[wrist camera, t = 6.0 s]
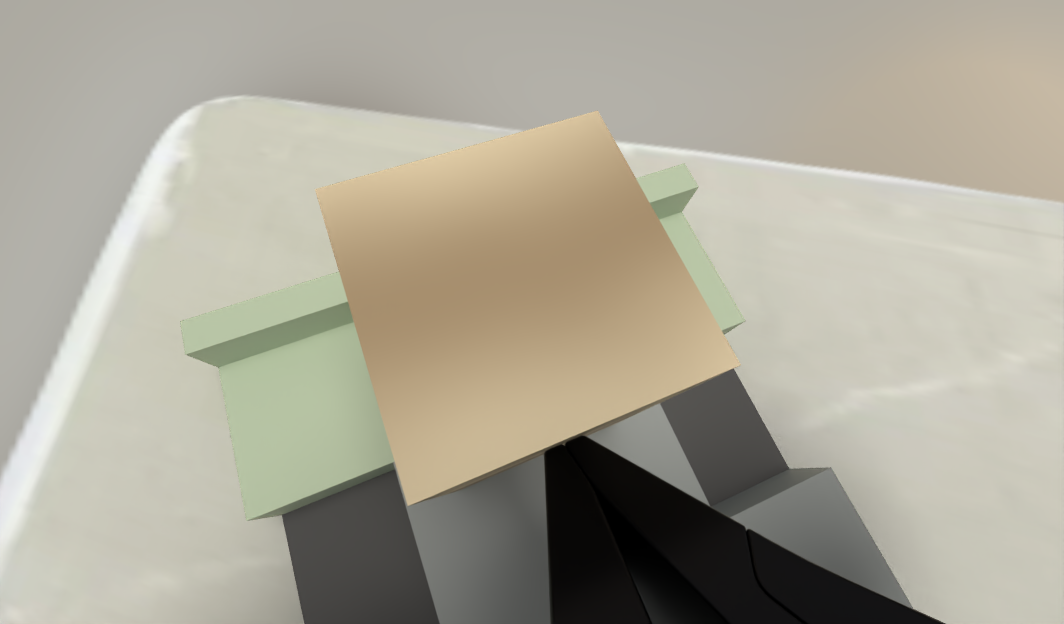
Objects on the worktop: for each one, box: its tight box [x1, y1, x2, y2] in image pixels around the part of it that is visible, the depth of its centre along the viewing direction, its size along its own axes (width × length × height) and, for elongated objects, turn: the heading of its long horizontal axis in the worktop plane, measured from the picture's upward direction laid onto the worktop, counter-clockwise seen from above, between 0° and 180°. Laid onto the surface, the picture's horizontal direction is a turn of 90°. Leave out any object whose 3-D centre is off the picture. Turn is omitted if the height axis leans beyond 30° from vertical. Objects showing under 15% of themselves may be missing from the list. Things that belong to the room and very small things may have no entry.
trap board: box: [180, 163, 913, 624], centre depth 13 cm, size 18×16×4 cm
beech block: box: [315, 111, 741, 506], centre depth 10 cm, size 5×5×8 cm
